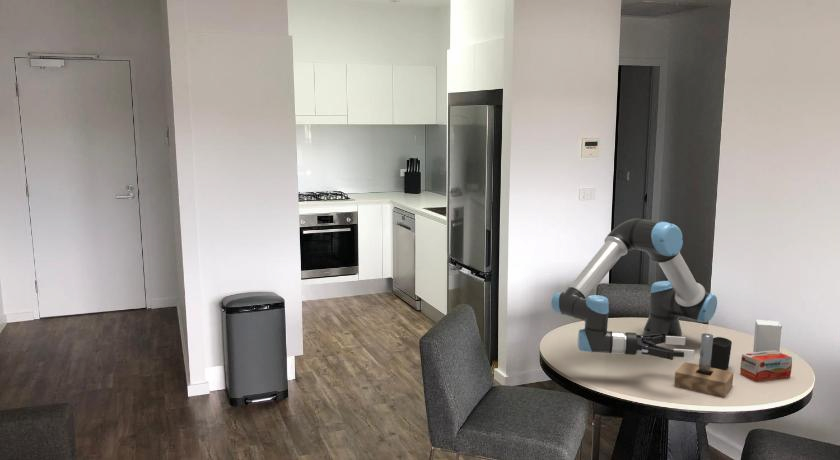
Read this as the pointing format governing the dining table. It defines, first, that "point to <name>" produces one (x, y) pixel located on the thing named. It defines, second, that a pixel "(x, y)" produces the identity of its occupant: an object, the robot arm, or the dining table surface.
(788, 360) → the medicine box
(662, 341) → the robot arm
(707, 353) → the pin
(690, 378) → the socket block
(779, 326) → the skincare box
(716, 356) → the pen holder
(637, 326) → the dining table surface
